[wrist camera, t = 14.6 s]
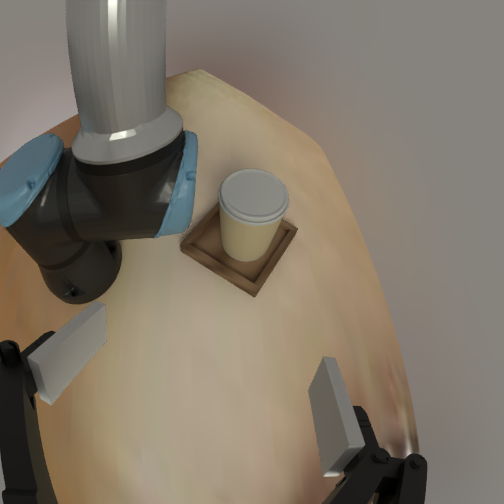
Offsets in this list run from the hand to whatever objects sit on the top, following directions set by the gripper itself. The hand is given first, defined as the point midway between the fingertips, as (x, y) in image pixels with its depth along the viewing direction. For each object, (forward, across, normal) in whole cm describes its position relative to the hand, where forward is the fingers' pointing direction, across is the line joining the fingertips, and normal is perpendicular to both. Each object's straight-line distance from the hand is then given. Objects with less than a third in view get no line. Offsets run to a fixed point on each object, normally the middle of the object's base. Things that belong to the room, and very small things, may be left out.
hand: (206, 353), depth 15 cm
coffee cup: (+32, 0, 0) cm, 32 cm away
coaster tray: (+32, 0, -1) cm, 32 cm away
